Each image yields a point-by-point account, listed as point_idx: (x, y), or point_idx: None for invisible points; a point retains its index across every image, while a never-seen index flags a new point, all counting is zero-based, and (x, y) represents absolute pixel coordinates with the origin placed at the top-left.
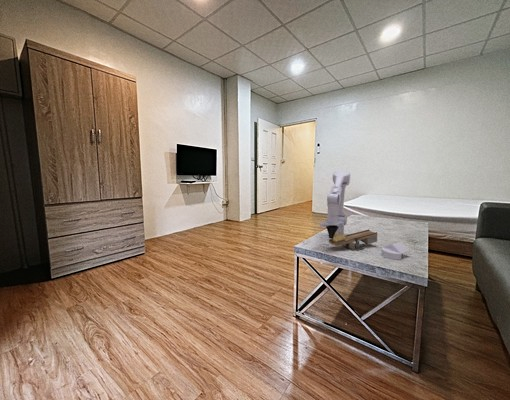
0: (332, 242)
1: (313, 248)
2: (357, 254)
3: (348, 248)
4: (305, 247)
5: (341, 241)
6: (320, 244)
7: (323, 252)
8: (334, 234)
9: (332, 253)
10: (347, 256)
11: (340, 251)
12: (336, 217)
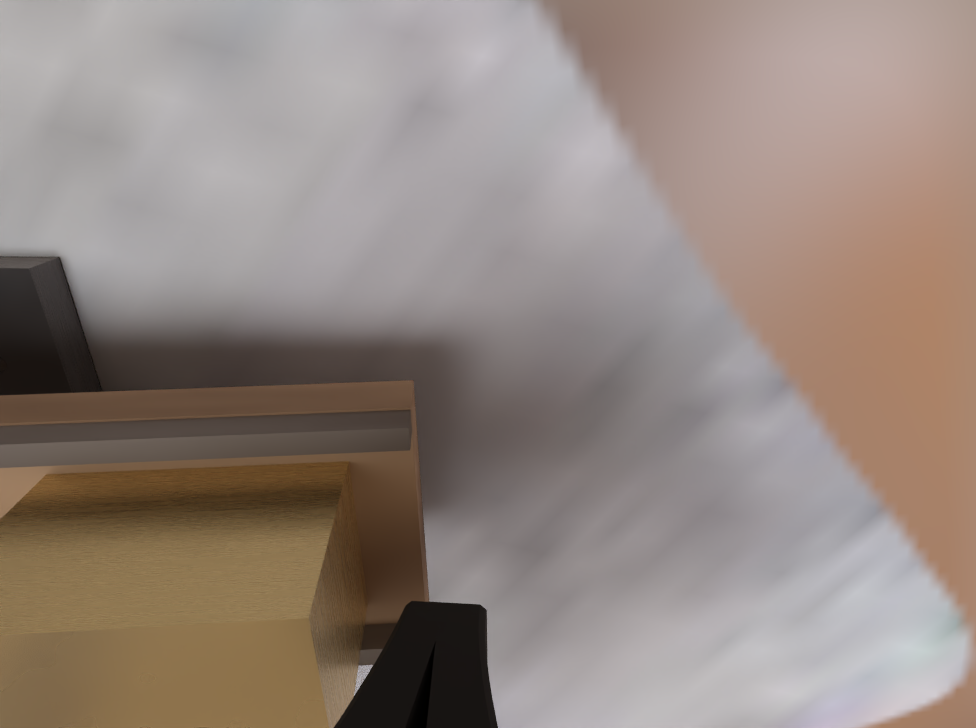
0: (414, 538)
1: (766, 563)
2: (28, 50)
3: (88, 373)
4: (874, 633)
5: (192, 455)
6: (507, 655)
7: (726, 360)
8: (350, 723)
9: (574, 263)
10: (335, 4)
11: (331, 306)
12: None
